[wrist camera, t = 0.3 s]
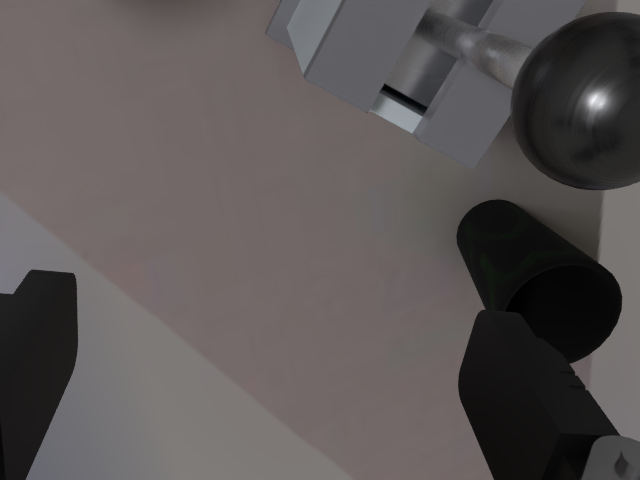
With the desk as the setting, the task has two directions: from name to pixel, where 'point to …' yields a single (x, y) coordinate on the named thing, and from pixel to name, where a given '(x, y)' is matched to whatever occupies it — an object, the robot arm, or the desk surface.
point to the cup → (539, 278)
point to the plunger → (544, 87)
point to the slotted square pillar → (384, 51)
